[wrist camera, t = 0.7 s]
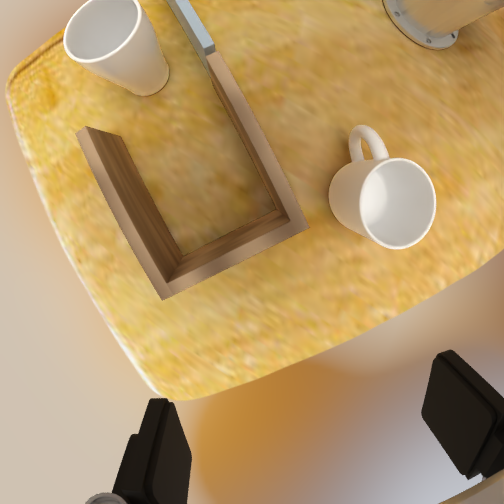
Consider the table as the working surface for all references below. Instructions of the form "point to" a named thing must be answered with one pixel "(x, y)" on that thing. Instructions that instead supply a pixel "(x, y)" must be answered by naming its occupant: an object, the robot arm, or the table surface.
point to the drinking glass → (117, 45)
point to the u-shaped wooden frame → (150, 221)
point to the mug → (382, 194)
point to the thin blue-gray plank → (193, 29)
